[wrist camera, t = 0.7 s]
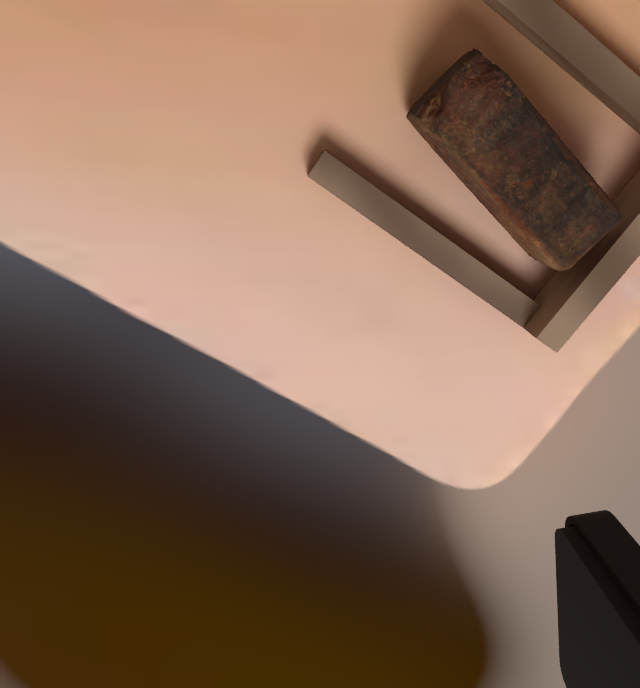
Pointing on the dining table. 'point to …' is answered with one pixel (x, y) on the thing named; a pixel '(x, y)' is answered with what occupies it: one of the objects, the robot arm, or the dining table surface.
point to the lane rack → (533, 315)
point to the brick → (513, 162)
